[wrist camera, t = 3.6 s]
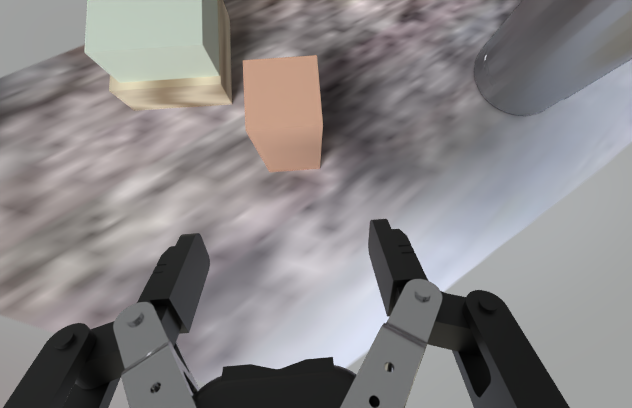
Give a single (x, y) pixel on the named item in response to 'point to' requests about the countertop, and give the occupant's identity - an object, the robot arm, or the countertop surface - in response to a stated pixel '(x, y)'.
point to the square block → (284, 111)
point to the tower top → (153, 38)
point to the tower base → (184, 82)
